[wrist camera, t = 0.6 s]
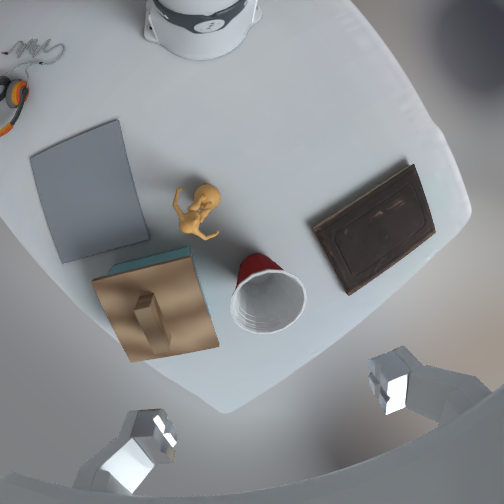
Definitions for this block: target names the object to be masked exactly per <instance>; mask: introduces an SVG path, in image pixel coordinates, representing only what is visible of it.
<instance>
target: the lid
mask: <svg viewBox="0 0 504 504" xmlns="http://www.w3.org/2000/svg"><path fill="white" fill-rule="evenodd" d="M92 285H93V287H94V289H95V292H96V294H97V296H98V298H99V300H100V303H101V305H102V307H103V309H104V311H105V313H106V315H107V318H108V320H109V322H110V324H111V326H112V328H113V330H114V332H115V334H116V336H117V337H118V339H119V341H120V343H121V345H122V347H123V349H124V351H125V352H126V354H127V356H128V358H129V360H130V361H131V362H137V361H143V360H150V359H156V358H162V357H168V356H174V355H180V354H185V353H190V352H196V351H201V350H206V349H211V348H215V347H219V341H218V338H217V335H216V333H215V330H214V327H213V324H212V321H211V318H210V315H209V312H208V309H207V306H206V303H205V299H204V296H203V293H202V290H201V287H200V284H199V280H198V277H197V274H196V271H195V267H194V264H193V261H192V257H191V255H188V256H184V257H180V258H176V259H172V260H168V261H164V262H160V263H156V264H151V265H147V266H143V267H139V268H135V269H131V270H127V271H123V272H119V273H115V274H111V275H107V276H103V277H99V278H96V279H93V280H92Z"/></svg>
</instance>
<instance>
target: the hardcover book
mask: <svg viewBox="0 0 504 504" xmlns="http://www.w3.org/2000/svg"><path fill="white" fill-rule="evenodd" d="M313 229H314V231H315V233H316V235H317V237H318V239H319V240H320V242H321V244H322V246H323V248H324V250H325V251H326V253H327V255H328V257H329V259H330V261H331V263H332V265H333V266H334V268H335V270H336V272H337V274H338V276H339V278H340V280H341V282H342V284H343V286H344V288H345V290H346V293H347V295H348V296H350V295H351V294H353V293H354V292H356V291H357V290H359V289H360V288H361V287H363V286H364V285H366V284H367V283H369V282H370V281H372V280H373V279H374V278H376V277H377V276H379V275H380V274H382V273H383V272H384V271H386V270H387V269H389V268H390V267H391V266H393V265H394V264H395V263H397V262H398V261H399V260H401V259H402V258H404V257H405V256H406V255H408V254H409V253H410V252H412V251H413V250H414V249H415V248H417V247H418V246H419V245H421V244H422V243H423V242H425V241H426V240H427V239H428V238H430V237H431V236H432V235H433V234H435V233H436V231H435V227H434V223H433V220H432V216H431V213H430V210H429V206H428V203H427V200H426V197H425V194H424V191H423V188H422V185H421V182H420V179H419V176H418V173H417V171H416V168H415V165H414V164H412V165H411V166H407V167H406V168H404V169H403V170H401V171H399V172H398V173H396V174H395V175H393V176H392V177H390V178H389V179H387V180H386V181H384V182H383V183H381V184H380V185H378V186H377V187H375V188H374V189H372V190H370V191H369V192H367V193H366V194H364V195H363V196H361V197H360V198H358V199H357V200H355V201H354V202H352V203H351V204H349V205H347V206H346V207H344V208H343V209H341V210H340V211H338V212H337V213H335V214H334V215H332V216H330V217H329V218H327V219H326V220H324V221H323V222H321V223H320V224H318V225H316V226H315V227H313Z"/></svg>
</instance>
